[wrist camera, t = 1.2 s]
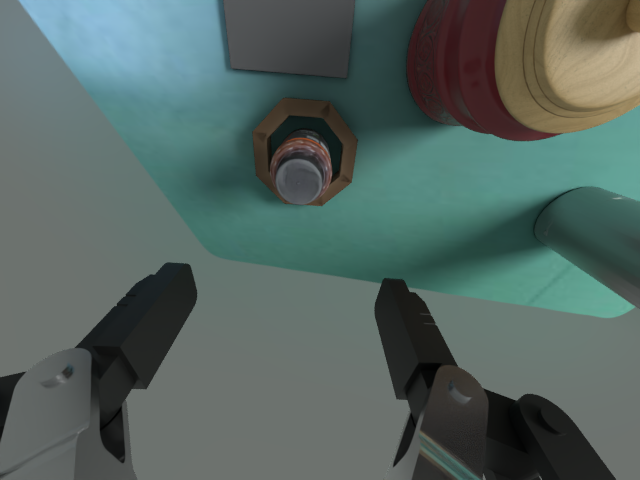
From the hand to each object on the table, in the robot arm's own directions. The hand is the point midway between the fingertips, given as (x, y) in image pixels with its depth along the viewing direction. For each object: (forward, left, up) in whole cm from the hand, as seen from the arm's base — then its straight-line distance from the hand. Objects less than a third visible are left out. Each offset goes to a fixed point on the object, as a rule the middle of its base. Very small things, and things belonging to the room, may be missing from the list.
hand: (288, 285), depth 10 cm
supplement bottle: (+1, -1, -23) cm, 23 cm away
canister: (-15, -12, -23) cm, 30 cm away
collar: (+1, -1, -23) cm, 23 cm away
